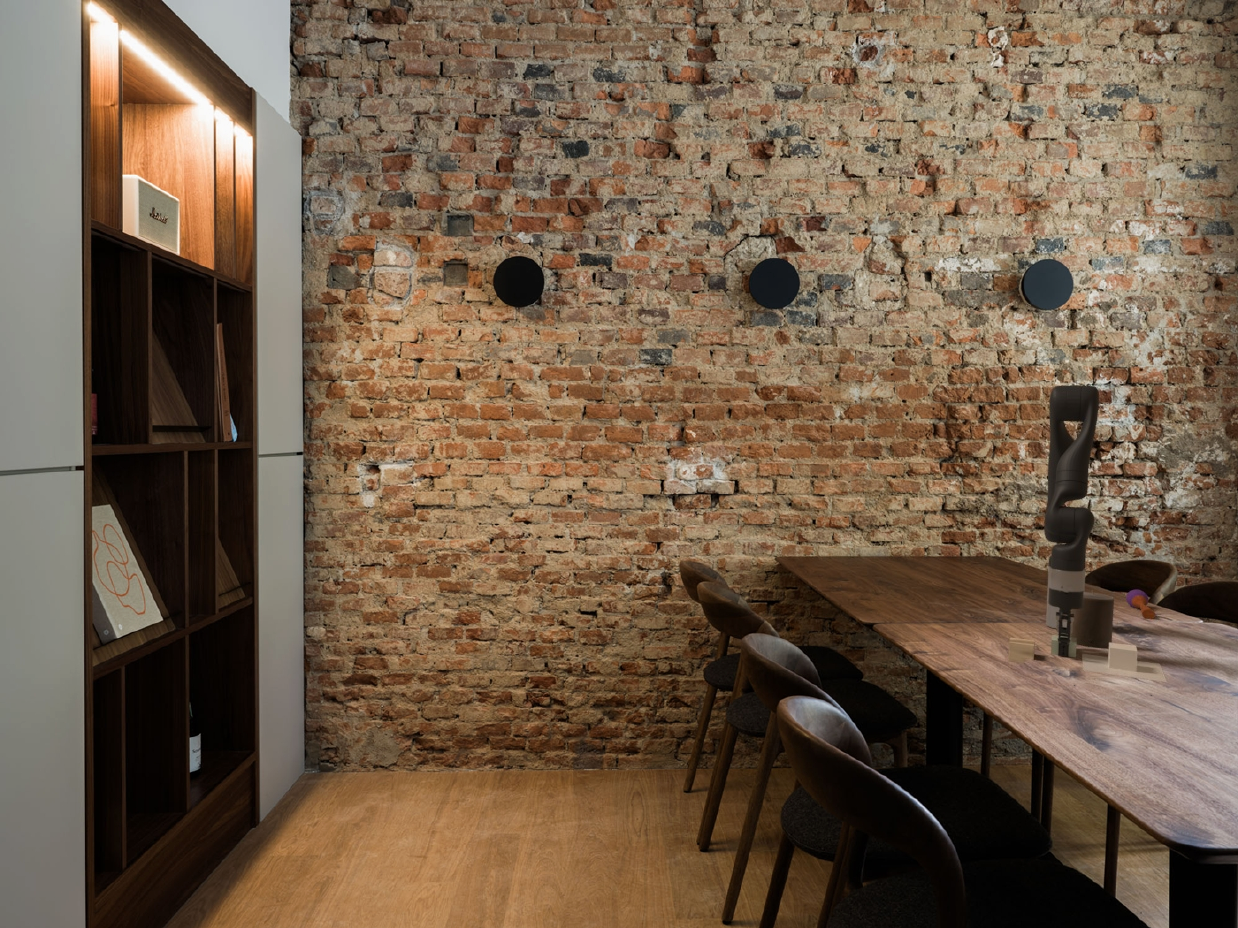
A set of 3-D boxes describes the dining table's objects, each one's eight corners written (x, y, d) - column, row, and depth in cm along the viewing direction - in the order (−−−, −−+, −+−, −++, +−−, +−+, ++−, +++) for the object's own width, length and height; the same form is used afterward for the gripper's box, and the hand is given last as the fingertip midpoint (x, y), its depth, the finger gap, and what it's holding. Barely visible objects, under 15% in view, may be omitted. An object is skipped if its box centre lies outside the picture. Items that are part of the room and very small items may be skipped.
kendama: (1135, 605, 245) (1123, 588, 263) (1138, 624, 245) (1126, 606, 264) (1158, 603, 243) (1144, 586, 261) (1161, 623, 243) (1147, 604, 261)
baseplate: (1081, 658, 200) (1082, 653, 200) (1159, 668, 193) (1159, 663, 193) (1082, 675, 186) (1083, 670, 186) (1166, 687, 179) (1166, 681, 179)
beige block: (1108, 662, 193) (1108, 642, 193) (1134, 665, 191) (1135, 645, 190) (1109, 668, 188) (1109, 647, 188) (1136, 671, 186) (1137, 651, 186)
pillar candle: (1090, 653, 205) (1093, 594, 204) (1059, 643, 214) (1062, 587, 213) (1120, 651, 207) (1124, 593, 207) (1089, 641, 217) (1092, 586, 216)
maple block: (1009, 656, 202) (1010, 637, 201) (1034, 659, 199) (1034, 640, 199) (1008, 661, 197) (1009, 642, 197) (1033, 665, 194) (1034, 645, 194)
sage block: (1051, 653, 204) (1051, 634, 204) (1075, 657, 202) (1076, 637, 202) (1050, 658, 200) (1051, 639, 199) (1075, 662, 197) (1076, 642, 197)
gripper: (1049, 580, 208) (1046, 646, 209) (1048, 590, 195) (1045, 659, 196) (1083, 584, 204) (1080, 650, 205) (1084, 594, 192) (1081, 664, 193)
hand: (1063, 654), depth 201 cm, fingers closed on sage block, 5 cm apart
